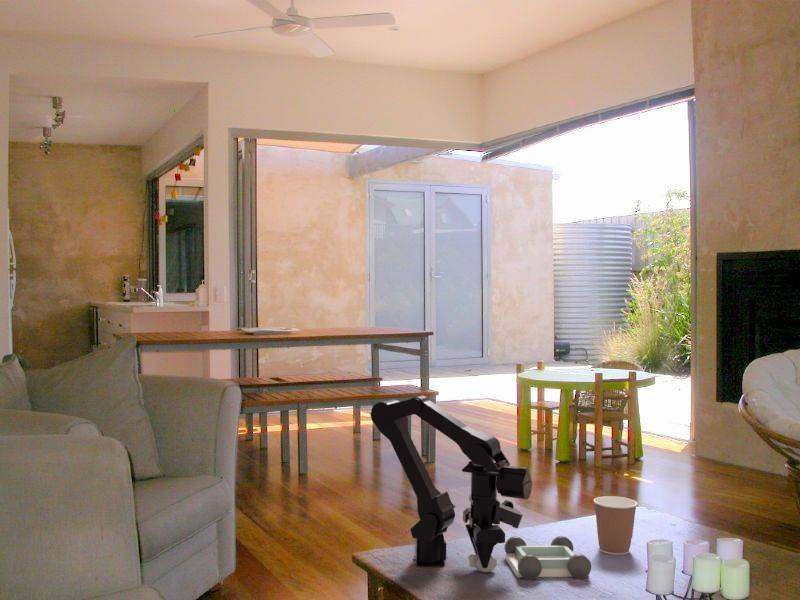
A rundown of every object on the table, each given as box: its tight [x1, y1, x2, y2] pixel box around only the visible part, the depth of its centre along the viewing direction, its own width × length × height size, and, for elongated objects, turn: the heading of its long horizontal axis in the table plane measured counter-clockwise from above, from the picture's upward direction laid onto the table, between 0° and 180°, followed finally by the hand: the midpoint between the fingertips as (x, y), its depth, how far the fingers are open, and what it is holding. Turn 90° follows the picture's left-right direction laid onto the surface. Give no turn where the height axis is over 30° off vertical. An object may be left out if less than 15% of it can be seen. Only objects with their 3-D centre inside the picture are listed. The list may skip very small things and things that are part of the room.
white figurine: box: [468, 547, 498, 573], centre depth 189 cm, size 5×7×8 cm
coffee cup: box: [593, 495, 638, 556], centre depth 206 cm, size 10×10×12 cm
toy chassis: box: [504, 535, 592, 581], centre depth 193 cm, size 16×15×5 cm
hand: (482, 563), depth 189 cm, fingers closed on white figurine, 5 cm apart
